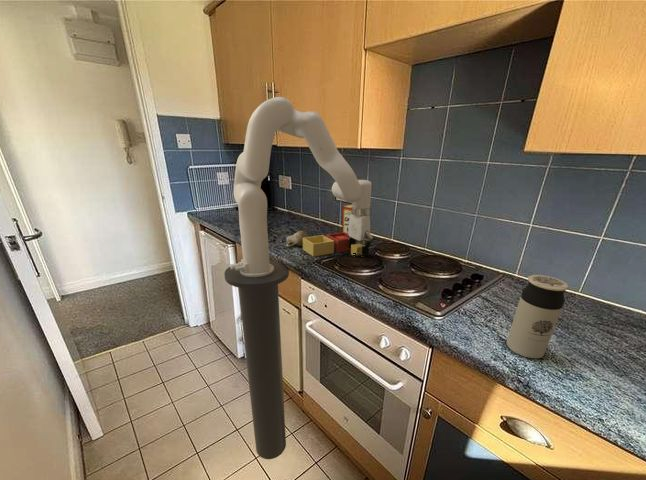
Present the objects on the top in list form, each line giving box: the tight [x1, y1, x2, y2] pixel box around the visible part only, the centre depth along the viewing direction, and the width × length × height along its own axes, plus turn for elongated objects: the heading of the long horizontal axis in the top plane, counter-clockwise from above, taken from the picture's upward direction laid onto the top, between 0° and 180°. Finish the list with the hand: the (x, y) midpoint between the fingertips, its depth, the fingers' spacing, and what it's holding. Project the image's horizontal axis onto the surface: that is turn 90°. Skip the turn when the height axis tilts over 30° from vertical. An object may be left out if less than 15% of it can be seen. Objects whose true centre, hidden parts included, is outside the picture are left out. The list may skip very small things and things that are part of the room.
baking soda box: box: [341, 204, 352, 233], centre depth 151 cm, size 10×6×16 cm
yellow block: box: [350, 243, 363, 256], centre depth 130 cm, size 4×4×4 cm
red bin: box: [325, 231, 358, 253], centre depth 138 cm, size 10×10×6 cm
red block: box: [335, 236, 348, 240], centre depth 138 cm, size 4×4×4 cm
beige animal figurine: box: [285, 230, 309, 248], centre depth 139 cm, size 8×10×10 cm
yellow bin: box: [302, 234, 335, 257], centre depth 132 cm, size 10×10×6 cm
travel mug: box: [505, 274, 569, 359], centre depth 69 cm, size 8×8×18 cm
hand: (358, 251), depth 130 cm, fingers open, 9 cm apart
